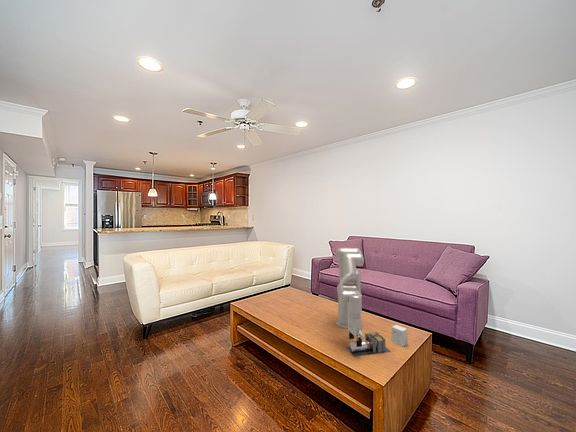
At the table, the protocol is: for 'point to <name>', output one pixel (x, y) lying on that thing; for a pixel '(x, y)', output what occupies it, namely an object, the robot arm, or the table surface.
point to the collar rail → (374, 350)
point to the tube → (365, 346)
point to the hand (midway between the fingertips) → (355, 342)
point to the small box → (399, 335)
